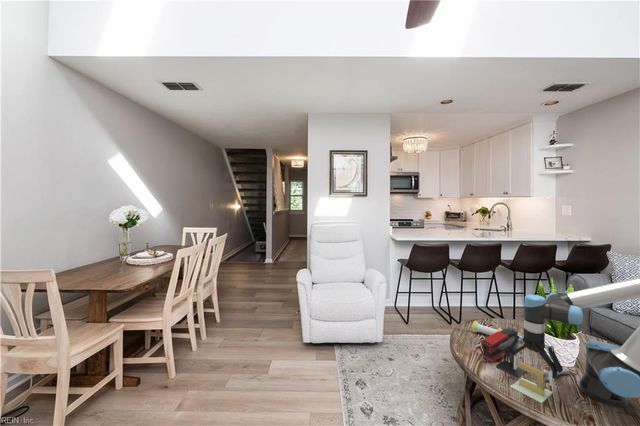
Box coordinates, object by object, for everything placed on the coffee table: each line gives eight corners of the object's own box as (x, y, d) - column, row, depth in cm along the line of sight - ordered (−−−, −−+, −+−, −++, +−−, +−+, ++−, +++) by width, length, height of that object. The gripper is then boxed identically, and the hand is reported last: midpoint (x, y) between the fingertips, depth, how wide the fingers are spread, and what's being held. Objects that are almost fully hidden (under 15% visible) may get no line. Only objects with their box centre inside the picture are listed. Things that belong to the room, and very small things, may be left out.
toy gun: (521, 352, 154) (518, 328, 152) (492, 370, 146) (489, 345, 144) (511, 347, 159) (508, 324, 157) (483, 365, 151) (480, 340, 149)
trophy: (470, 321, 178) (527, 338, 156) (475, 318, 183) (530, 334, 161) (470, 333, 178) (527, 352, 156) (474, 330, 183) (530, 347, 161)
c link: (544, 394, 121) (545, 372, 121) (542, 396, 120) (543, 374, 120) (521, 382, 129) (522, 362, 129) (518, 384, 128) (519, 363, 127)
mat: (552, 393, 123) (552, 392, 123) (541, 403, 116) (541, 402, 116) (522, 378, 133) (522, 377, 133) (510, 387, 127) (510, 386, 127)
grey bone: (537, 378, 133) (546, 383, 130) (539, 367, 133) (547, 372, 130) (562, 375, 139) (571, 380, 135) (563, 365, 139) (572, 370, 135)
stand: (526, 372, 138) (527, 341, 137) (510, 384, 129) (511, 350, 128) (504, 362, 146) (505, 332, 145) (488, 372, 137) (489, 341, 136)
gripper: (573, 339, 115) (572, 388, 116) (507, 318, 136) (506, 360, 137) (566, 344, 111) (565, 395, 112) (499, 321, 132) (499, 364, 133)
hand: (533, 376), depth 124 cm, fingers open, 13 cm apart
